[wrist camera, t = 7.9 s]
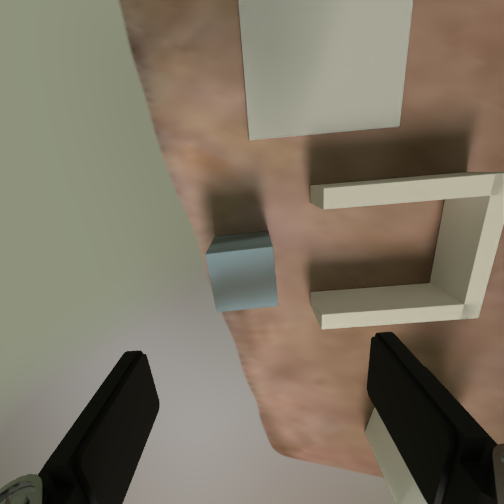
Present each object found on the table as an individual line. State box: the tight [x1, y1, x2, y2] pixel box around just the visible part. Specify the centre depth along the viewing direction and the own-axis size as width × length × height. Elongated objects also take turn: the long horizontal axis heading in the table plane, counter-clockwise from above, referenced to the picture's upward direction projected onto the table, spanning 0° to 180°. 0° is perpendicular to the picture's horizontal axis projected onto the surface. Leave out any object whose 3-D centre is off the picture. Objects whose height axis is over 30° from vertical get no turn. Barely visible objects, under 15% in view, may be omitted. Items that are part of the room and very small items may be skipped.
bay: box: [310, 172, 504, 329], centre depth 20 cm, size 12×14×4 cm
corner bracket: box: [365, 407, 428, 504], centre depth 24 cm, size 11×11×12 cm
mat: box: [238, 0, 413, 140], centre depth 17 cm, size 12×12×1 cm
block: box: [205, 231, 278, 312], centre depth 20 cm, size 5×5×5 cm
